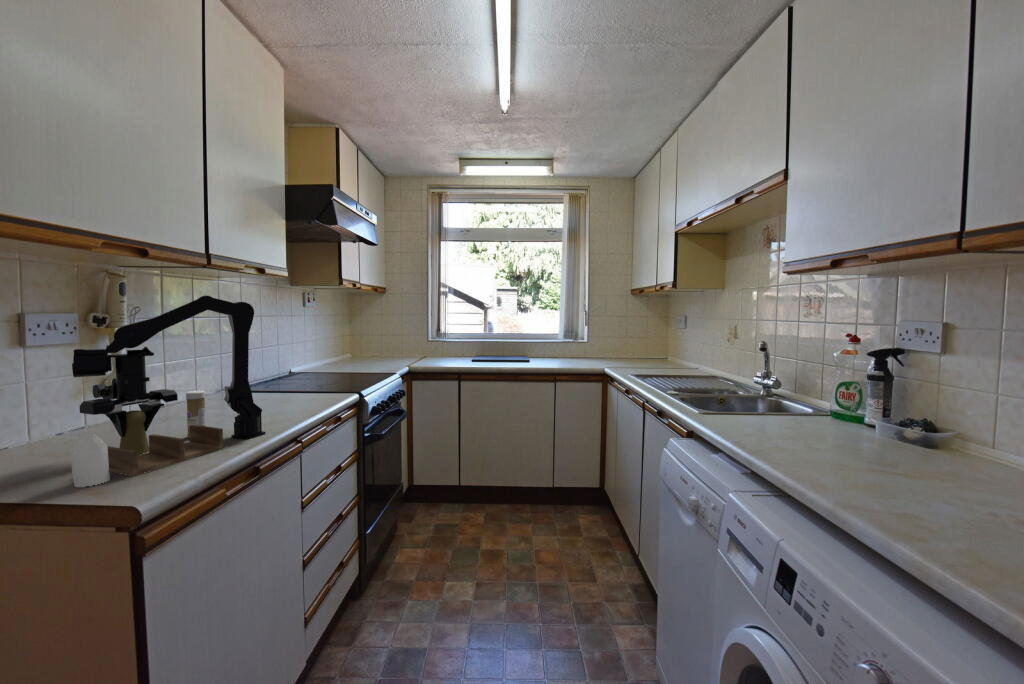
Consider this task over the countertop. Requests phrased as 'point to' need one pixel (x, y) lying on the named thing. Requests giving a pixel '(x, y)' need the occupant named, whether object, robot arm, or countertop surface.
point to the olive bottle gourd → (135, 433)
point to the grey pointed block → (89, 460)
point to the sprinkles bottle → (195, 409)
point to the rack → (165, 451)
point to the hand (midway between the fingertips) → (133, 434)
